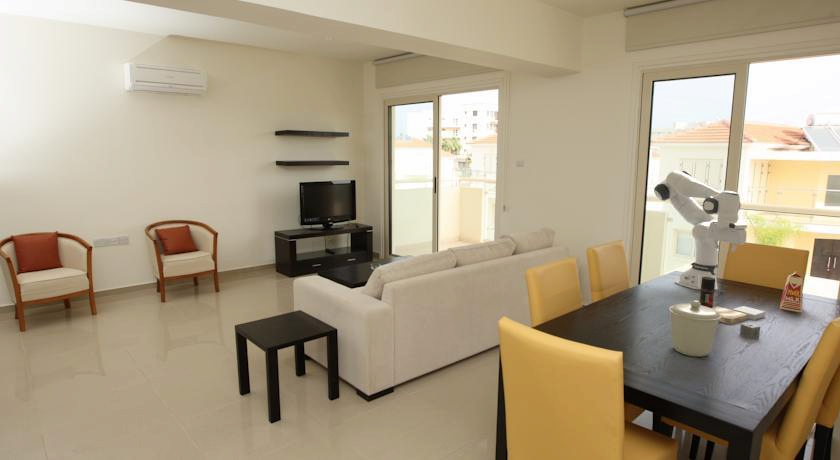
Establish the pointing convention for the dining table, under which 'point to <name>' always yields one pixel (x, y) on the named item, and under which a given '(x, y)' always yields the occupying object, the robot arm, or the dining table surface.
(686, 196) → the robot arm
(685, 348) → the canister
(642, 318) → the dining table surface
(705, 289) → the deodorant
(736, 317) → the oak stand
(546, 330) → the dining table surface
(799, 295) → the milk carton
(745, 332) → the dice cube
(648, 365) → the dining table surface
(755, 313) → the grey stand
